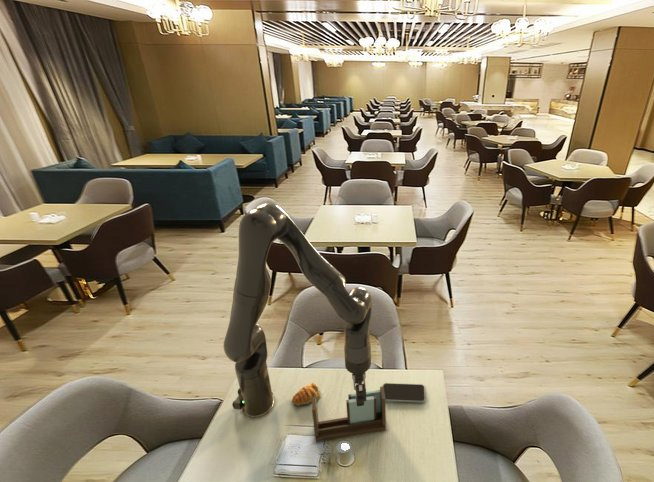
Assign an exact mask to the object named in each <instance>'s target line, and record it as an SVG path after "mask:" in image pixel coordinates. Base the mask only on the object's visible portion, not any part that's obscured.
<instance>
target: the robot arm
mask: <svg viewBox="0 0 654 482" xmlns="http://www.w3.org/2000/svg"><path fill="white" fill-rule="evenodd" d="M303 233H304V232H302V231H301V229H300V228H299V227H298V226H297V225H296V224H295V222H294V221H293V219H291V217H290V216H289V214H287V213H286V211H285V210H284V209H283V208H282V207H280V206H279V205H277V204H276V203H273V202H265V203H262V204H260V205H258V206H256V207H255V208H253V209H252V210H250V211H248V212H246V213H245V214H244V215H243V216H242V218H241V219H240V222H239V226H238V259H237V260H238V261H237V265H236V275H235V279H234V285H233V286H234V287H233V294H232V303H231V308H230V309H231V310H230V317H229V323H228V326H227V330H226V333H225V336H224V340H223V346H222V347H223V351H224V354H225V355H226V357H227V358H228V359H229V360H230V361H231V362H234V370H235V375H236V380H237V383H238V387H239V388H238V389H237V395H238V396H237V397H236V398H235V400H233V401H232V403H231V405H232V407H233V409H234V410H240V411H241V410H242V412H243V413H245V415H246V416H247V417H249V418H252V419H253V418H254V419H257V418H261V417H263V416H266V415H267V414H268V413H270V411H271V410H272V409H273V407H274V405H275V400H274V393H273V390H272V385H271V380H270V375H269V369H268V365H267V360H268V346H267V338H266V334H265V332H264V330H263V328H262V327H261V325H260V324H258V322H259V320H260V318H261V317H262V314H263V312H264V311H265V309H266V306H267V304H268V300H269V298H270V297H269V296H270V293H271V292H270V291H271V287H272V286H271V285H272V278H271V275H270V272H269V270H268V268H267V260H268V255H269V251H270V248H271V246H272V244H273V243H274V242H275V241H276V240H278V241H280V243H282V244H283V245H284V246H285V247H287V249H288V250H289V251H290V252H291V253H292V255H293V257H294V259H295V261H296V263H297V265H298V267H299V269H300V271H301V273H302V274H303V276H304V278H306V280H307V281H308V282H309V283H310V284H311V285H312V286H313V287H314V288H316V289H317V291H318V292H320V293H321V294H322V295H323V296H324V297H325V298H326V300H327V302H329V304H330V306H331V308H332V309H333V310H334V312H335V313H336V315H337V316H338V317H339V318H340V319H341V320H342V321H344V323H345V325H344V328H343V329H344V331H343V332H344V333H343V334H344V335H343V336H344V346H343V351H344V367H345V369H346V371H347V372H348V373H350V374H351V379H352V381H353V390H354V391H355V394H356V401H357V406H363V405H364V401H365V399H366V398H365V388H366V389H367V386H366V378H367V375H366V372H367V371H369V370H370V369H371V366H372V346H371V337H370V336H371V335H370V333H371V331H370V324H371V317H372V310H373V298H372V296H371V294H370V291H368V290H367V289H365V288H364V287H361V286H359V287H358V286H357V287H354V288H352V289H351V290H350V291H349V292H348V290H347V288H346V283H347V279H346V277H345V276H344V275H343V274H342V272H340V271H339V270H337V268H335V266H333V265H332V264H331V263H330V262H329V261H328V260H327V259H326V258H324V257H323V255H322V254H321V253H319V251H317V250H318V249H316V248H315V247H314V246H313V245H312V243H311V242H310V241H309V240H308V238H307V236H305V234H303Z"/></svg>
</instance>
